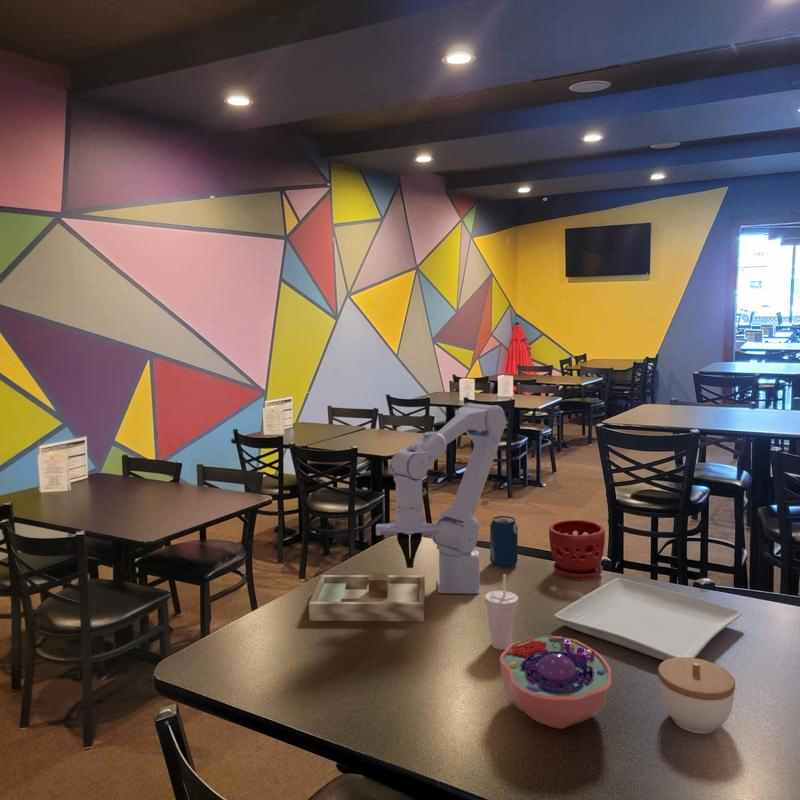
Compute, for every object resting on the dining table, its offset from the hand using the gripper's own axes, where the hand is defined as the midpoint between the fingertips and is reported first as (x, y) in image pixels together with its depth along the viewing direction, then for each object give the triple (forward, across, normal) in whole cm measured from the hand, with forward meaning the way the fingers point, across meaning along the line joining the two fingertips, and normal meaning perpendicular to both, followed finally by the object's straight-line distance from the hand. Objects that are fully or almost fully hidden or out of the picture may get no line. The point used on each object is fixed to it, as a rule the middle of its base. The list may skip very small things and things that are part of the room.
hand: (410, 566), depth 145 cm
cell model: (+9, +24, -40) cm, 48 cm away
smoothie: (+9, +18, -18) cm, 27 cm away
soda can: (+9, +23, +25) cm, 35 cm away
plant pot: (+9, +40, +19) cm, 45 cm away
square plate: (+9, +48, -10) cm, 50 cm away
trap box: (+9, -9, 0) cm, 13 cm away
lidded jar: (+9, +45, -42) cm, 62 cm away
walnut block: (+6, -7, 0) cm, 9 cm away
